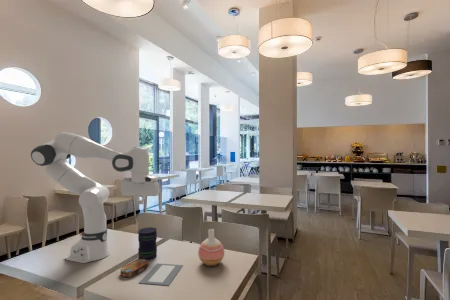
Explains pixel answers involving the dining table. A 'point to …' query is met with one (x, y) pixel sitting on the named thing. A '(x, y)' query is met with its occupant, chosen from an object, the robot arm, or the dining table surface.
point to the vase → (211, 250)
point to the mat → (161, 274)
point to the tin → (134, 267)
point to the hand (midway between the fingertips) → (140, 204)
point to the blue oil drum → (147, 243)
